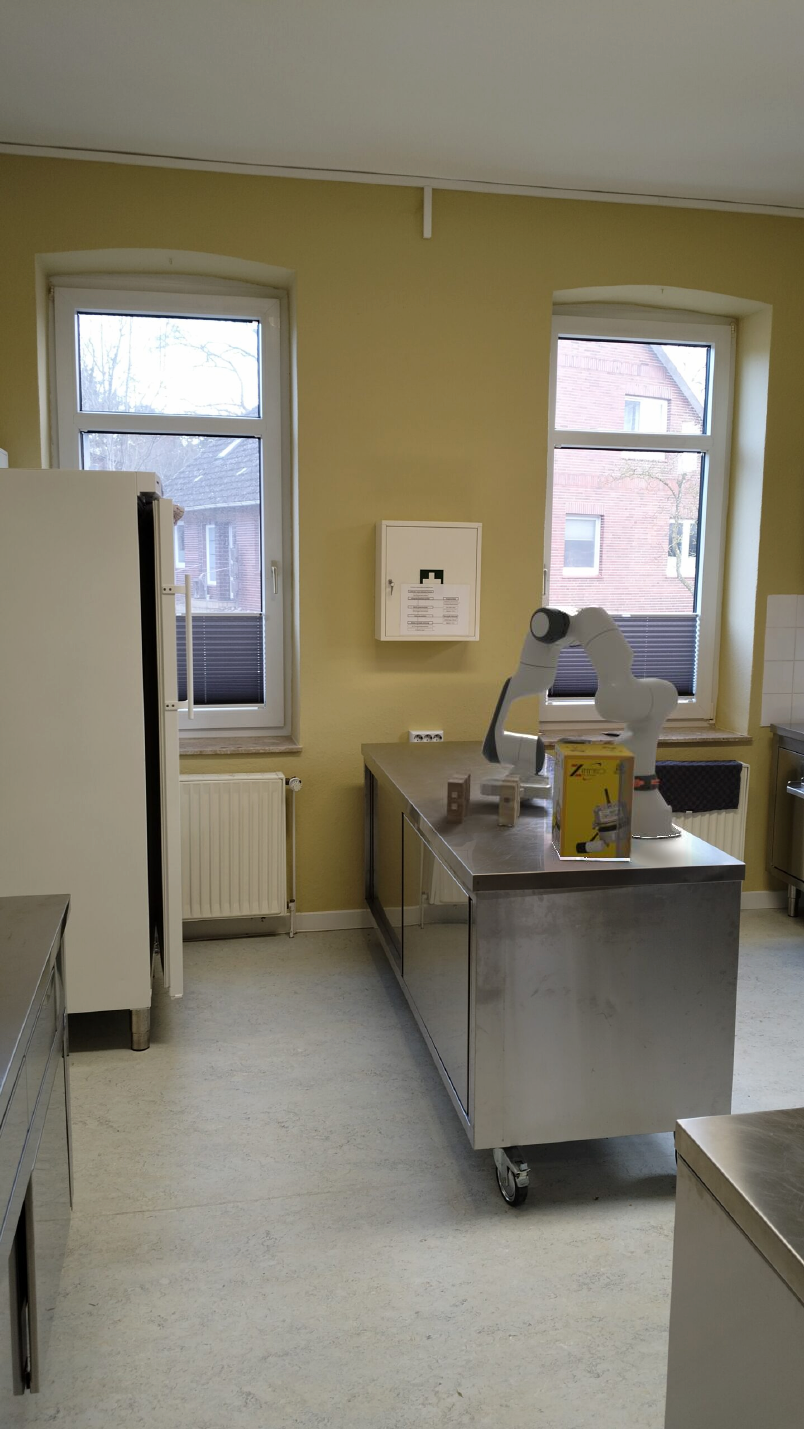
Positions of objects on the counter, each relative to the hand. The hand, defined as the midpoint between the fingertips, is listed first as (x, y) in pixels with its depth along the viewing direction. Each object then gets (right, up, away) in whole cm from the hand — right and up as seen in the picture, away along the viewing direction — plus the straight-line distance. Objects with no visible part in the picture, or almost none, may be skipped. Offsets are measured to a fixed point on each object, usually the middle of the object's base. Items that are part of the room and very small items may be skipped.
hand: (513, 794), depth 279 cm
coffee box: (+22, -2, +32) cm, 39 cm away
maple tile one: (-2, -6, -6) cm, 9 cm away
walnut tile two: (-15, -6, -3) cm, 17 cm away
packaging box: (+14, -11, -37) cm, 41 cm away
